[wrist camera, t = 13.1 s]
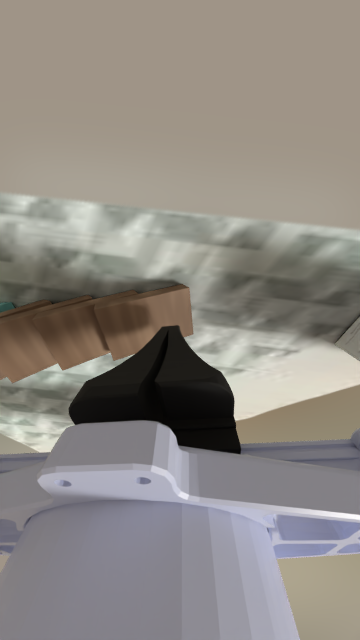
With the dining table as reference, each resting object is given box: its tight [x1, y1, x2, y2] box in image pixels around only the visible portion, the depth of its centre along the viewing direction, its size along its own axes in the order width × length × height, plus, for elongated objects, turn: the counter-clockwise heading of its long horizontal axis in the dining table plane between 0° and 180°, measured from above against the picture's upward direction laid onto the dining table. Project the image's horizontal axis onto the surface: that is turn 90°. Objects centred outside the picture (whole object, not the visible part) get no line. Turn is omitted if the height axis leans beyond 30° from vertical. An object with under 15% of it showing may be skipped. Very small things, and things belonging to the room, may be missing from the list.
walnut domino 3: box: [94, 284, 193, 361], centre depth 15 cm, size 2×5×8 cm
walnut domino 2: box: [32, 290, 138, 370], centre depth 15 cm, size 2×5×8 cm
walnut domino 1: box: [0, 295, 93, 383], centre depth 15 cm, size 2×5×8 cm
